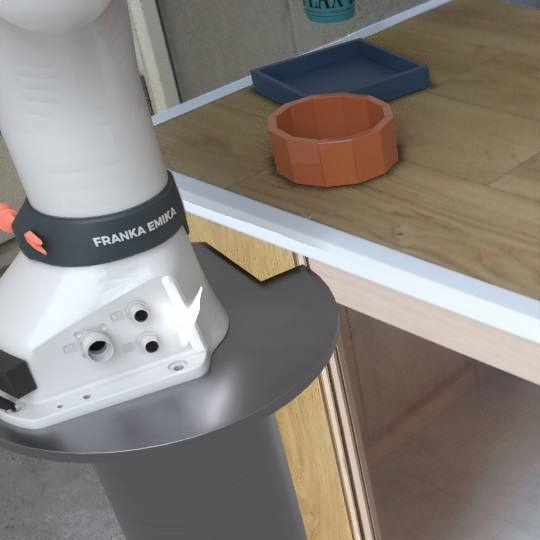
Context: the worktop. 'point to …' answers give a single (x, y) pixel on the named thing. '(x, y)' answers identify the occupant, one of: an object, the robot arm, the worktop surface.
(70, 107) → the robot arm
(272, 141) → the bowl
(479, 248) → the worktop surface
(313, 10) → the beverage bottle
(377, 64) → the tray
